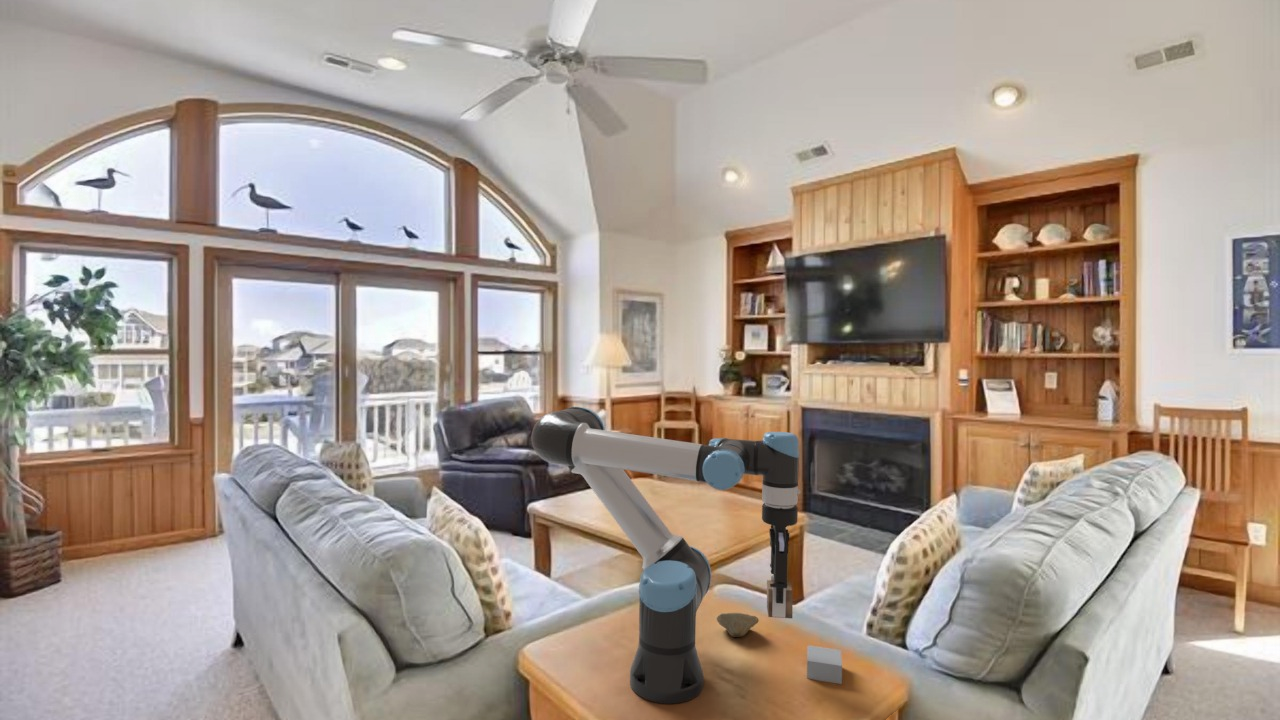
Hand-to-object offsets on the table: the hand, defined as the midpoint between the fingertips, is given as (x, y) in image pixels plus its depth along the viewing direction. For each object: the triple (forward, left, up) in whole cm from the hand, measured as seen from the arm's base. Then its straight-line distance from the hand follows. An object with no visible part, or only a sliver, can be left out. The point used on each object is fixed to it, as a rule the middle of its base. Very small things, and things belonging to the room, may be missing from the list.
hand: (777, 610), depth 130 cm
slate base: (+10, 0, -13) cm, 16 cm away
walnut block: (0, 0, 0) cm, 1 cm away
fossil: (-8, +14, -13) cm, 21 cm away
